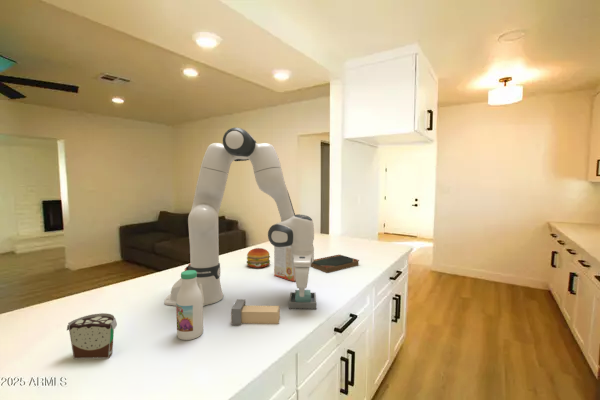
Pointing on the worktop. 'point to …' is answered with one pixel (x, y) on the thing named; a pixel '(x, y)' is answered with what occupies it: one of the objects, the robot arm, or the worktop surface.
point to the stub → (303, 299)
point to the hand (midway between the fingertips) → (302, 291)
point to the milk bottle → (189, 307)
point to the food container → (92, 336)
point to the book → (334, 263)
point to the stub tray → (302, 304)
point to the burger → (258, 258)
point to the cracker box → (283, 263)
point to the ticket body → (254, 313)
